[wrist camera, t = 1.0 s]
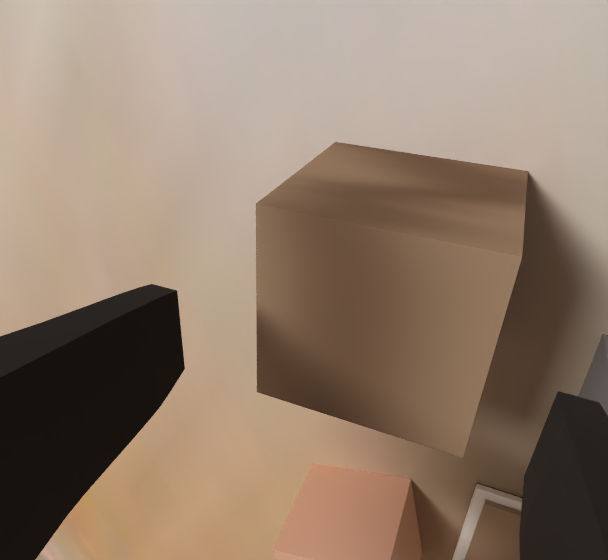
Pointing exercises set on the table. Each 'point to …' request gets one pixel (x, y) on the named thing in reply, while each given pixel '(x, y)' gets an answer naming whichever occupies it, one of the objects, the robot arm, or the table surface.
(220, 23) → the table surface
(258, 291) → the walnut cube
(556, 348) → the table surface
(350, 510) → the terracotta cube
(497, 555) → the swatch
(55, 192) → the table surface
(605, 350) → the plinth
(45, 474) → the robot arm
